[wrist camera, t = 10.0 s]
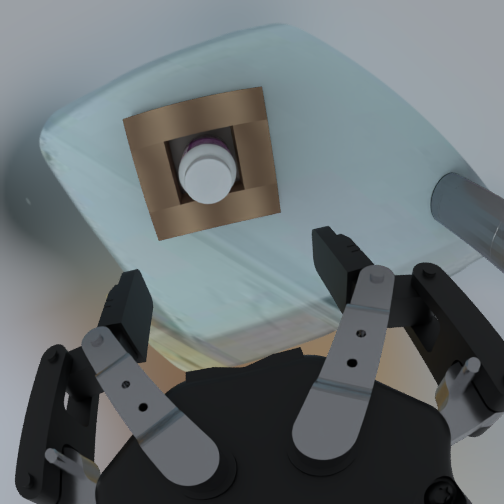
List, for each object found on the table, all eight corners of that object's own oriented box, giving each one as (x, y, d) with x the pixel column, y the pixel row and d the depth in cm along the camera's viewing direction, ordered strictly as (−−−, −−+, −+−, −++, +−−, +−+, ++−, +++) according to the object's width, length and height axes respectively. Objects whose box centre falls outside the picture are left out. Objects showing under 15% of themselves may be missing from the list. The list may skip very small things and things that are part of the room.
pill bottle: (177, 140, 29) (168, 158, 21) (225, 130, 30) (234, 143, 22) (188, 184, 32) (184, 218, 24) (233, 174, 33) (245, 204, 25)
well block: (254, 88, 28) (261, 86, 25) (272, 200, 36) (280, 212, 32) (131, 116, 27) (122, 119, 24) (162, 225, 35) (159, 240, 31)
